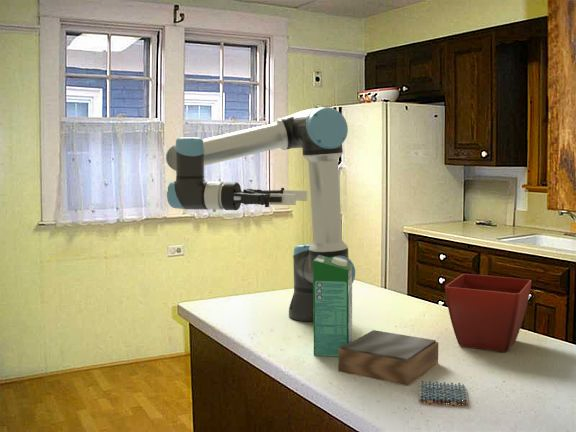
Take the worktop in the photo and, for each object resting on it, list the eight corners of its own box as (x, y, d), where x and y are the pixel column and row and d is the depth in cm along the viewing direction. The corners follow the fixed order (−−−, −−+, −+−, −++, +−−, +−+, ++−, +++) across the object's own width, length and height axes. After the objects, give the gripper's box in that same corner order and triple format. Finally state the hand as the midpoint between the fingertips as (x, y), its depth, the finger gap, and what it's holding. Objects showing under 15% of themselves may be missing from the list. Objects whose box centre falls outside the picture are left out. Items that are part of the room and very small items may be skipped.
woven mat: (417, 407, 140) (418, 397, 140) (418, 388, 150) (418, 379, 150) (469, 410, 138) (469, 400, 138) (466, 391, 148) (466, 382, 148)
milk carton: (348, 357, 171) (348, 260, 169) (313, 355, 173) (312, 260, 170) (352, 346, 180) (352, 254, 177) (319, 345, 182) (318, 254, 179)
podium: (338, 371, 161) (338, 346, 160) (372, 351, 176) (372, 329, 175) (408, 385, 151) (408, 359, 150) (438, 363, 166) (438, 340, 165)
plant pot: (517, 358, 169) (519, 293, 167) (442, 348, 178) (443, 286, 176) (530, 339, 185) (532, 279, 183) (461, 330, 195) (462, 273, 193)
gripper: (238, 206, 192) (311, 207, 187) (207, 214, 168) (290, 216, 163) (238, 179, 192) (311, 180, 186) (207, 184, 167) (290, 185, 162)
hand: (301, 197), depth 175 cm, fingers open, 13 cm apart
